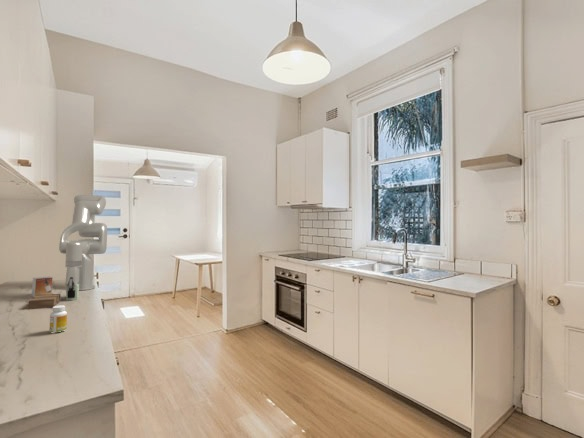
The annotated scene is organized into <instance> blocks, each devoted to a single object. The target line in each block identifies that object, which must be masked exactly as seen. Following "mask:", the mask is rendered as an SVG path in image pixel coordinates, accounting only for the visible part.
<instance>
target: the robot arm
mask: <svg viewBox="0 0 584 438" xmlns="http://www.w3.org/2000/svg"><path fill="white" fill-rule="evenodd" d="M73 200H74V206H73V207H74V209H73V215H72V222H71V224H70V225H68V226H67V227H66V228H65V229H64V230H63V231H62V233H61V235H60V237H59V243H58V250H59V252H60V253H61V254H63V255H65V265H64V266H65V268H66V272H65V273H66V275H65V283H64V284H65V286H67V285H68V284H69V286H68V298H75V285H76V284H79V291H88V290H94V289H95V288H96V286H95V284H93V279H94V260H93V258H92V257H91V255H102V254H105V253H106V251H107V245H108V244H107V243H108V227H107V225H106V224H105V223H104V222H96V221H95V220H96V218H95V217H96V215H97V216H98V215H102V214H103V212H104V210H105V207H106V203H107V200H106V198H105V196H102V195H93V194H91V195H90V194H78V195H75V196H74V198H73ZM75 232H77V233H78V236H79V237H82V238H84V239H78V240H68V238H69V236H70V235H72V234H73V233H75ZM87 238H88V239H87ZM89 238H90V239H89ZM91 238H94V239H91ZM95 238H96V239H95ZM97 238H98V239H97ZM72 284H74V285H72Z"/></svg>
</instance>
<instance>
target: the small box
mask: <svg viewBox="0 0 584 438" xmlns="http://www.w3.org/2000/svg"><path fill="white" fill-rule="evenodd" d="M31 288H32V290H31V297H32V298H34V297H35V296H37V295H46V294H53V292H52V291H53V276H50V275H49V276H41V277H32V287H31Z"/></svg>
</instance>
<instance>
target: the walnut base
mask: <svg viewBox="0 0 584 438" xmlns="http://www.w3.org/2000/svg"><path fill="white" fill-rule="evenodd" d="M60 302H61V293H52V294H46V295H37V296H35V297H32V298H31V299H30V300H28V304H27V305H28V308H27V309H28V310H36V309H51V308H52V309H53V307H54V306H58V304H59V303H60Z"/></svg>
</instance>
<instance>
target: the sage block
mask: <svg viewBox="0 0 584 438" xmlns="http://www.w3.org/2000/svg"><path fill="white" fill-rule="evenodd" d="M72 285H74V284H72ZM65 286H66V285H65ZM68 286H69V284H68V285H67V286H66V289H65V291H66V292H65V293H66V294H65V301H66V302H67V301H68V302H69V301H77V300H78V299H79V298H80V297H79V296H80V290H79V284H76V285H75V298H68Z"/></svg>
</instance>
